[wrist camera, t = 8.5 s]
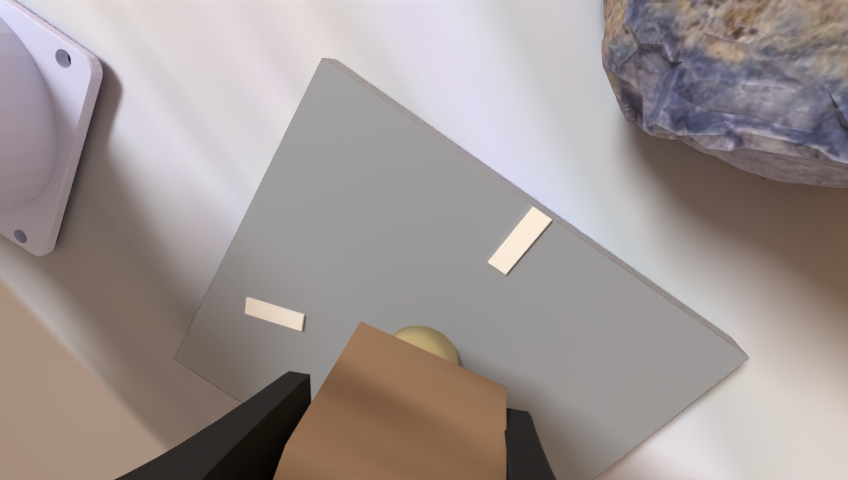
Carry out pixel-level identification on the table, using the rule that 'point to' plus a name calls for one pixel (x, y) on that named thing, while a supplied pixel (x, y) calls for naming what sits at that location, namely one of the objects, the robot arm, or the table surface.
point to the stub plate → (444, 283)
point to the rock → (738, 80)
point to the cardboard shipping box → (398, 418)
